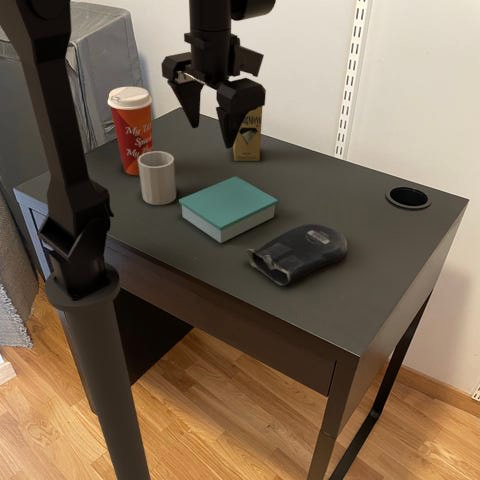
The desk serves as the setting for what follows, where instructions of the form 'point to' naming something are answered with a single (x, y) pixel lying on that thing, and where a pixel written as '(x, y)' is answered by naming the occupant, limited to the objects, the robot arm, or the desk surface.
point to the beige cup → (157, 177)
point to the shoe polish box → (249, 137)
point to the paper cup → (132, 124)
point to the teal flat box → (228, 208)
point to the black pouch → (298, 252)
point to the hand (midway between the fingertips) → (211, 137)
